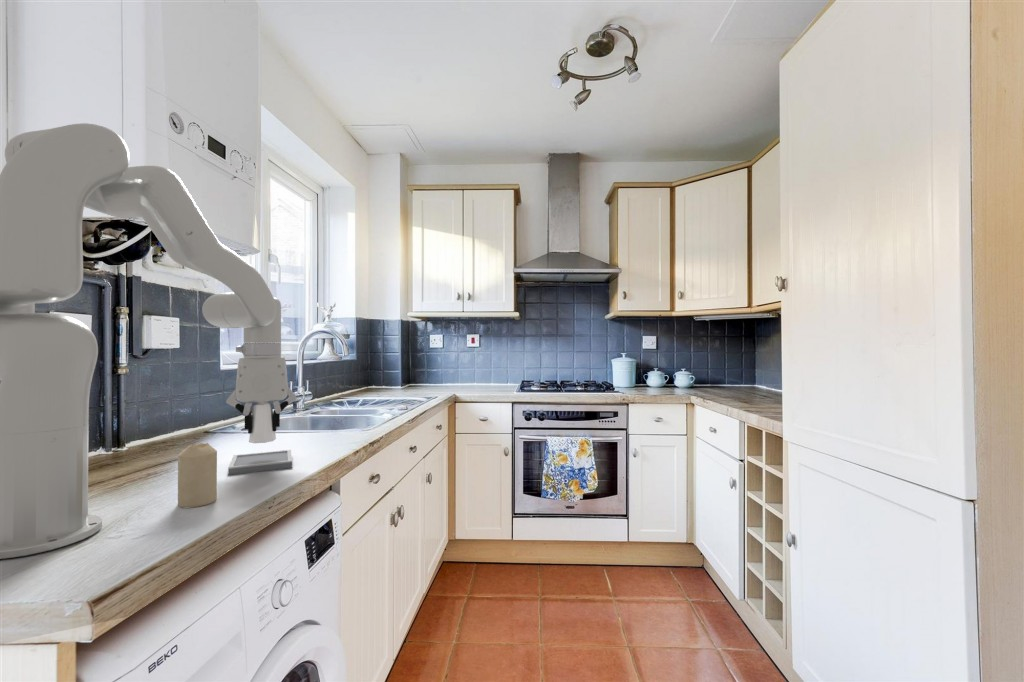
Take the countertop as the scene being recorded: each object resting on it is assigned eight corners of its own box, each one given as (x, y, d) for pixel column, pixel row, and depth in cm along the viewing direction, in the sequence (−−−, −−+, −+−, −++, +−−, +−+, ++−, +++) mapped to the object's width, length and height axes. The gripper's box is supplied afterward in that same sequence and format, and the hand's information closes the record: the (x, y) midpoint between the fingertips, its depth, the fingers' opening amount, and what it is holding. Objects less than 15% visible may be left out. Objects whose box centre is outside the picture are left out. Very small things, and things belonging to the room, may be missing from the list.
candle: (196, 509, 74) (197, 448, 75) (169, 507, 76) (169, 447, 76) (224, 498, 80) (224, 441, 80) (198, 496, 81) (198, 440, 81)
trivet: (228, 474, 94) (228, 467, 94) (233, 461, 105) (233, 455, 105) (292, 467, 100) (292, 460, 100) (290, 455, 110) (290, 449, 110)
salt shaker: (243, 443, 100) (243, 393, 100) (260, 437, 106) (260, 391, 106) (265, 443, 99) (265, 394, 99) (281, 438, 105) (281, 391, 105)
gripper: (216, 351, 95) (216, 438, 95) (303, 351, 103) (303, 431, 103) (220, 351, 102) (220, 431, 102) (302, 350, 110) (302, 425, 110)
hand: (262, 430), depth 102 cm, fingers closed on salt shaker, 4 cm apart
